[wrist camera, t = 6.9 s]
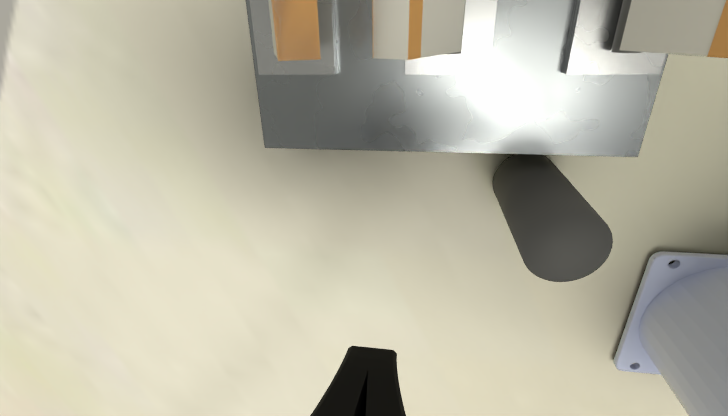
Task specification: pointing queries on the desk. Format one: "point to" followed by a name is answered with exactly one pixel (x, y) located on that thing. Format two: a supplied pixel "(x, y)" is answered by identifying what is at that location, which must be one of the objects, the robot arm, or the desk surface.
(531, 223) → the cylinder
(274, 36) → the orange and white block
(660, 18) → the white and orange block
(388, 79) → the breaker panel
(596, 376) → the desk surface
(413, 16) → the white and orange block
